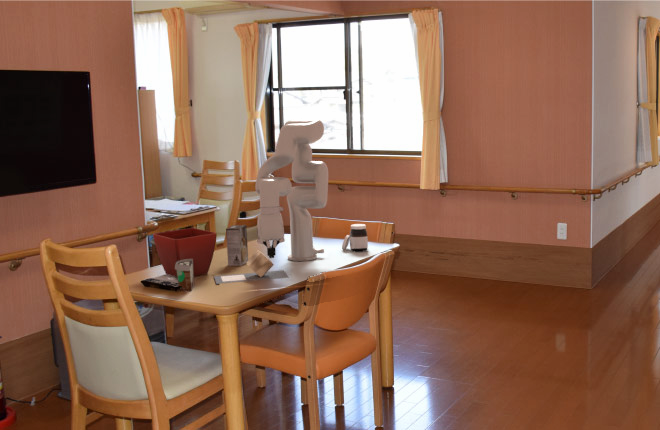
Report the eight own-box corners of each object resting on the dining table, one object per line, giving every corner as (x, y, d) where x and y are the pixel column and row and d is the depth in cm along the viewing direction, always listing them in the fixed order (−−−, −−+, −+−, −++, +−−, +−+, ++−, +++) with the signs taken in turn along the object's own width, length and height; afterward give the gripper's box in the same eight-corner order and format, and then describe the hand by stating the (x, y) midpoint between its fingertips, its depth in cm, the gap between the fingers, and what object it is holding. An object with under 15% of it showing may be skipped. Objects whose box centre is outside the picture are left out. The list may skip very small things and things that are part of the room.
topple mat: (283, 271, 298) (283, 270, 298) (289, 278, 285) (289, 277, 285) (213, 277, 291) (213, 275, 291) (216, 284, 279) (216, 283, 279)
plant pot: (220, 273, 298) (217, 232, 296) (178, 282, 286) (175, 239, 283) (195, 266, 312) (192, 227, 310) (154, 274, 300) (151, 233, 297)
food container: (178, 284, 281) (176, 259, 280) (194, 284, 282) (192, 258, 280) (174, 293, 269) (172, 266, 268) (191, 292, 270) (189, 265, 268)
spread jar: (369, 252, 331) (368, 226, 329) (344, 253, 329) (343, 227, 327) (364, 247, 343) (363, 222, 341) (340, 248, 341) (339, 223, 339)
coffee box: (234, 261, 320) (232, 224, 318) (248, 261, 319) (246, 224, 317) (227, 265, 312) (225, 228, 309) (242, 266, 310) (240, 228, 308)
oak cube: (270, 261, 293) (258, 249, 291) (273, 264, 286) (260, 252, 284) (258, 274, 292) (246, 262, 291) (261, 277, 286) (248, 266, 284)
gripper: (287, 208, 291) (288, 254, 294) (249, 210, 288) (251, 257, 290) (290, 211, 284) (292, 257, 286) (252, 213, 280) (253, 260, 283)
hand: (271, 257), depth 288 cm, fingers closed
